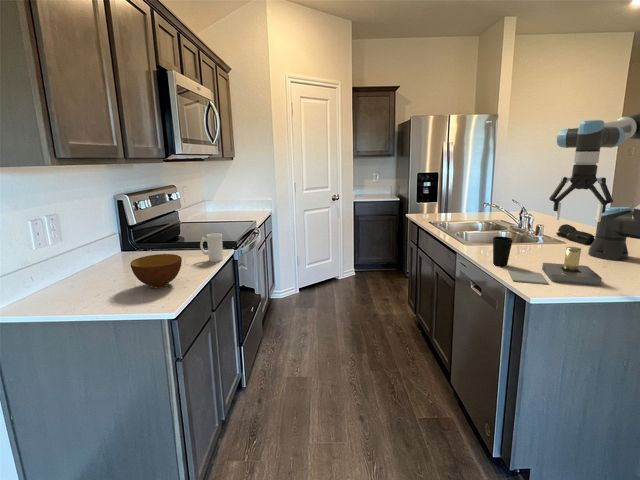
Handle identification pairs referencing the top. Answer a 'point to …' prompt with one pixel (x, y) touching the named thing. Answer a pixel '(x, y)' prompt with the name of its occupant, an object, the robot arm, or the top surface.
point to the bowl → (156, 269)
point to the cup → (501, 250)
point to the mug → (213, 247)
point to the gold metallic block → (572, 259)
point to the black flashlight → (575, 235)
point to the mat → (528, 277)
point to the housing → (571, 274)
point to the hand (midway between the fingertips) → (577, 220)
